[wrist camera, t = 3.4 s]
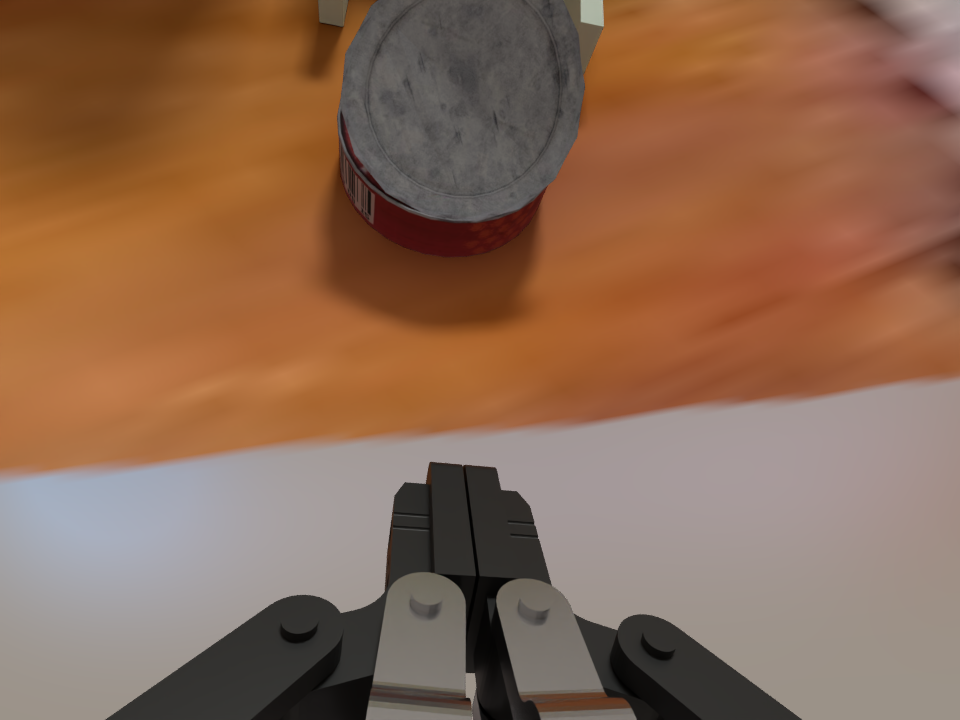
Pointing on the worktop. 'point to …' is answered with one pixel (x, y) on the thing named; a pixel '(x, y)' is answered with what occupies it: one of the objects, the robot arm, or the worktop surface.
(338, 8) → the rack
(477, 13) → the canned food
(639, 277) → the worktop surface
